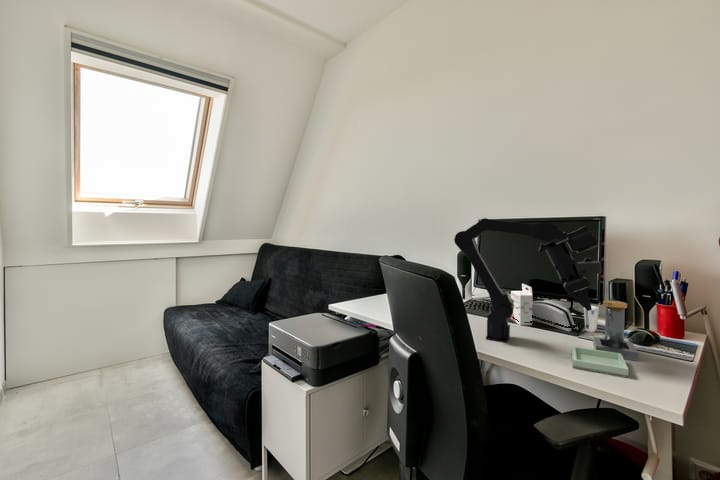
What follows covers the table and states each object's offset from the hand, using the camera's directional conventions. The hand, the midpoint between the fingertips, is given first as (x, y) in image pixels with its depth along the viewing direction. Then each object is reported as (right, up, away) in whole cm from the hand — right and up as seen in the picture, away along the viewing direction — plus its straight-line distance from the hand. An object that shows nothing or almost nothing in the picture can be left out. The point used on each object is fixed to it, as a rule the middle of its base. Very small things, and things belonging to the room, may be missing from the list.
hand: (587, 306), depth 101 cm
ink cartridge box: (-6, -12, +30) cm, 33 cm away
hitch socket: (+7, -13, -1) cm, 15 cm away
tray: (-4, -14, -10) cm, 17 cm away
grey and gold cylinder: (+7, -13, -1) cm, 15 cm away
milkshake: (+15, -13, +19) cm, 27 cm away
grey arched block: (+4, -13, +26) cm, 30 cm away
